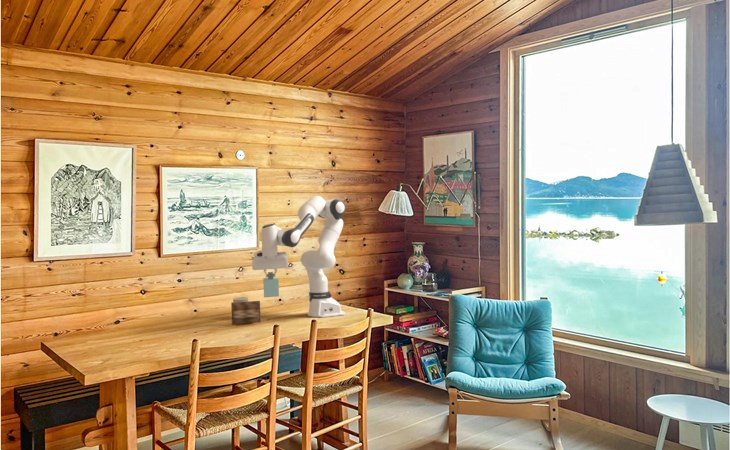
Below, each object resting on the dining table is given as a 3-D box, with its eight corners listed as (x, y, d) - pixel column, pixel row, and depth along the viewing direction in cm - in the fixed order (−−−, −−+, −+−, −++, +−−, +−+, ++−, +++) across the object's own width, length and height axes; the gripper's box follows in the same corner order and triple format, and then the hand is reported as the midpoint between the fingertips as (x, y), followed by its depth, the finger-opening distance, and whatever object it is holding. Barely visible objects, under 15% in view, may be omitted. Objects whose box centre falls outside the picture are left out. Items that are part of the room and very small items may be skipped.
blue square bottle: (277, 294, 340) (276, 271, 340) (279, 296, 332) (278, 272, 331) (263, 295, 338) (262, 271, 338) (264, 297, 330) (263, 273, 329)
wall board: (260, 321, 339) (259, 300, 338) (261, 323, 333) (260, 302, 333) (231, 323, 335) (231, 302, 334) (232, 325, 329) (231, 304, 328)
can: (250, 316, 357) (250, 296, 356) (246, 318, 348) (245, 298, 347) (236, 316, 358) (235, 296, 357) (231, 319, 348) (230, 298, 348)
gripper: (287, 251, 338) (288, 275, 338) (251, 253, 333) (252, 277, 333) (288, 252, 332) (289, 276, 332) (252, 254, 327) (253, 278, 327)
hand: (270, 277), depth 333 cm, fingers closed on blue square bottle, 2 cm apart
